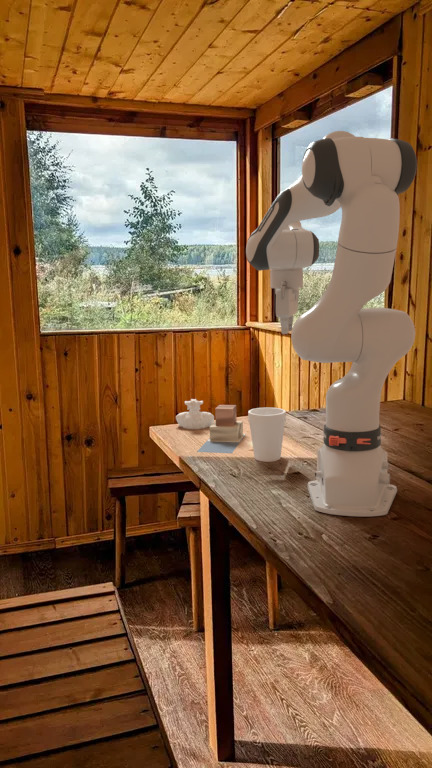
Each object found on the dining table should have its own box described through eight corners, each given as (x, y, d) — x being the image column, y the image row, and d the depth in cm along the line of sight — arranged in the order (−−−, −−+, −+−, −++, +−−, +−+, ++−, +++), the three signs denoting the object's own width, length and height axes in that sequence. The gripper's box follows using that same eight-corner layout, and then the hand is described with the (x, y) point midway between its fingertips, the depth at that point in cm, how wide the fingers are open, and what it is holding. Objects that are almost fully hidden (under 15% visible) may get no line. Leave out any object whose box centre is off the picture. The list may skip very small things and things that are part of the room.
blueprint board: (232, 457, 157) (232, 453, 157) (196, 455, 159) (196, 451, 159) (246, 437, 176) (246, 433, 176) (214, 436, 178) (214, 432, 178)
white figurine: (176, 437, 187) (171, 414, 179) (178, 418, 192) (174, 395, 184) (214, 437, 186) (211, 414, 178) (215, 418, 191) (213, 394, 183)
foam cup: (259, 454, 159) (258, 406, 156) (292, 458, 154) (291, 409, 152) (242, 464, 151) (241, 413, 148) (276, 469, 146) (275, 416, 144)
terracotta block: (233, 426, 169) (232, 408, 168) (215, 425, 170) (215, 408, 169) (236, 422, 174) (236, 405, 173) (219, 421, 175) (219, 404, 174)
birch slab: (237, 441, 168) (237, 427, 167) (209, 440, 170) (209, 426, 169) (242, 434, 176) (242, 421, 175) (216, 433, 177) (216, 420, 177)
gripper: (294, 281, 152) (294, 335, 155) (301, 281, 172) (302, 329, 174) (269, 281, 154) (270, 335, 156) (279, 281, 174) (280, 329, 176)
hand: (287, 332), depth 165 cm, fingers open, 8 cm apart
